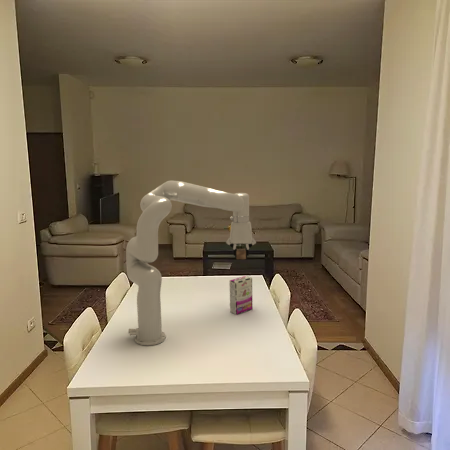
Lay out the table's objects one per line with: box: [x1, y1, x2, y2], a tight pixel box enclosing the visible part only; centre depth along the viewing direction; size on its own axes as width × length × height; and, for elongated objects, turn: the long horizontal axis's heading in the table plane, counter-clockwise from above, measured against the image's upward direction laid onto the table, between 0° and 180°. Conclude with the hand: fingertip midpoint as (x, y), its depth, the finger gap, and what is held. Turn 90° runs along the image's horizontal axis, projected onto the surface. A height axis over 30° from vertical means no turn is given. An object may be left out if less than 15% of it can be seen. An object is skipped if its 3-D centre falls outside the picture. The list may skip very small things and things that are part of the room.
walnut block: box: [235, 248, 247, 260], centre depth 192 cm, size 4×4×4 cm
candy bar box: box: [229, 275, 253, 316], centre depth 196 cm, size 11×5×16 cm, turn 131°
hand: (241, 256), depth 193 cm, fingers closed on walnut block, 4 cm apart
